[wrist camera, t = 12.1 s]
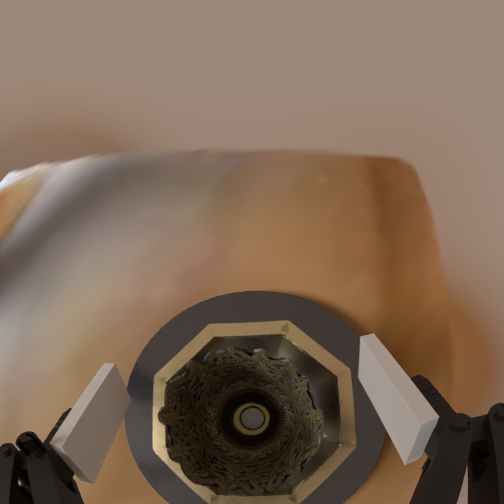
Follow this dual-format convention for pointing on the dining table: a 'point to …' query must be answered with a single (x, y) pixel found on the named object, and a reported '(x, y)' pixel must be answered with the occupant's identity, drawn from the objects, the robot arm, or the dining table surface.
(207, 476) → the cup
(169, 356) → the carrier plate
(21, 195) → the dining table surface
